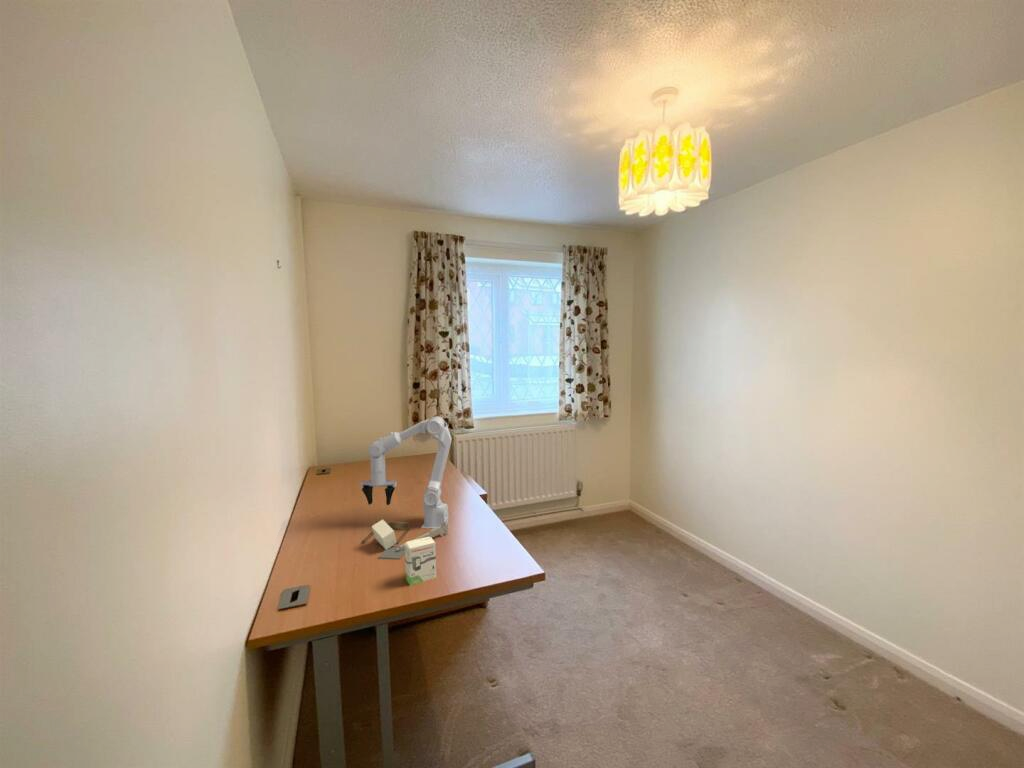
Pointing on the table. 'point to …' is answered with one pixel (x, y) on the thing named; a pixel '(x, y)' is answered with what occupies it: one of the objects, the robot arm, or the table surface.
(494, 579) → the table surface
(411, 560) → the ink box
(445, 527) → the caliper
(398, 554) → the mat
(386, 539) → the cream tapered prism
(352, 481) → the table surface
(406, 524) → the frame
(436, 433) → the robot arm
